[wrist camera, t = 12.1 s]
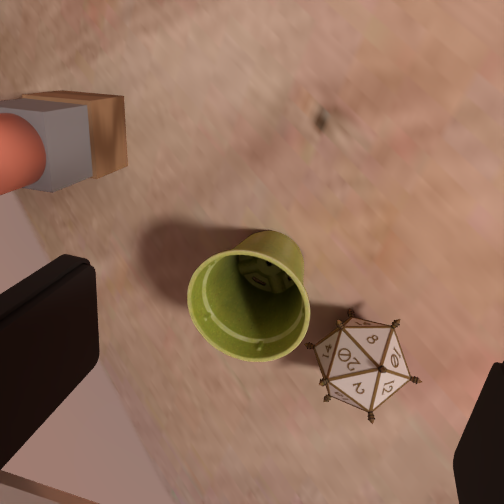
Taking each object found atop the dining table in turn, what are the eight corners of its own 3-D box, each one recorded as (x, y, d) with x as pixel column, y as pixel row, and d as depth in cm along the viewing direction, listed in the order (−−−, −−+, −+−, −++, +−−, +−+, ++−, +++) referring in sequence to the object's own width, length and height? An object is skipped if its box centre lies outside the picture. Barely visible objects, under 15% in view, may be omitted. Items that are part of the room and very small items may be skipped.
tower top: (24, 98, 35) (-27, 104, 31) (87, 105, 34) (43, 112, 30) (33, 167, 37) (-13, 182, 33) (92, 176, 36) (52, 192, 32)
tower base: (62, 90, 39) (21, 94, 35) (124, 96, 38) (90, 100, 34) (69, 158, 42) (33, 170, 37) (128, 165, 41) (97, 178, 36)
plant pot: (343, 243, 38) (333, 290, 31) (294, 323, 43) (275, 382, 35) (246, 193, 39) (212, 227, 31) (208, 277, 43) (170, 325, 35)
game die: (343, 318, 45) (267, 352, 39) (399, 278, 39) (318, 311, 33) (393, 401, 42) (319, 451, 37) (462, 372, 36) (385, 427, 30)
